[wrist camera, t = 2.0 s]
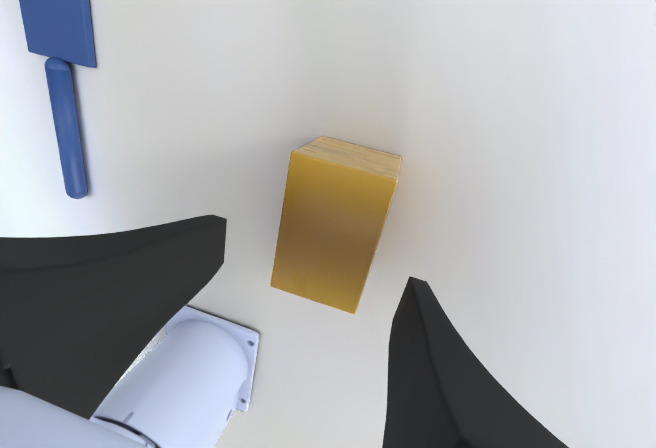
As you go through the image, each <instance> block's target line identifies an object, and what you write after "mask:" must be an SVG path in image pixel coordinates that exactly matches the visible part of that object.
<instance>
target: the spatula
mask: <svg viewBox="0 0 656 448" xmlns="http://www.w3.org/2000/svg"><path fill="white" fill-rule="evenodd" d="M19 2H20V8H21V13H22V18H23V24H24V29H25V34H26V40H27V45H28V51H29V52H32V53H36V54H40V55H44V56H47V57H51V58H49V59H47V60H46V62H45V71H46V77H47V83H48V89H49V95H50V101H51V107H52V112H53V118H54V124H55V130H56V136H57V142H58V148H59V154H60V160H61V165H62V171H63V177H64V183H65V189H66V193H67V195H68V196H70V197H71V198H74V199H80V198H83V197H84V196H85V195H86V194H87V185H86V178H85V171H84V164H83V156H82V149H81V142H80V135H79V127H78V120H77V113H76V106H75V98H74V91H73V84H72V77H71V70H70V67H69V65H68V64H67V63H66V62H65V61H67V62H71V63H75V64H78V65H82V66H86V67H92V68H96V61H95V51H94V42H93V32H92V23H91V13H90V4H89V0H19Z"/></svg>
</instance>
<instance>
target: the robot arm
mask: <svg viewBox="0 0 656 448" xmlns="http://www.w3.org/2000/svg"><path fill="white" fill-rule="evenodd" d="M226 223H227V219H225V218H222V217H218V216H215V215H206V216H200V217H194V218H190V219H185V220H180V221H176V222H171V223H167V224H162V225H157V226H151V227H146V228H141V229H135V230H130V231H123V232H116V233H108V234H99V235H88V236H70V237H50V238H9V237H0V448H214V447H215V445H216V443H217V442H218V440H219V438H220V436H221V434H222V433H223V431H224V429H225V427H226V425H227V423H228V422H229V420H230V418H231V416H232V414H233V413H234V411H235V409H237V410H239V411H242V412H246V411H247V409H248V407H249V403H250V396H251V389H252V383H253V376H254V370H255V363H256V356H257V350H258V343H259V334H258V333H257V332H256V331H254V330H251V329H248V328H245V327H243V326H240V325H237V324H234V323H231V322H229V321H226V320H223V319H220V318H218V317H215V316H212V315H209V314H206V313H204V312H201V311H198V310H195V309H193V308H190V307H187V306H185V305H186V304H187V303H188V302H189V301H190V300H191V299H192V298H193V297H194V296H195V295H196V294H197V293H198V292H199V291H200V290H201V289H202V288H203V287H204V286H205V285H206V284H207V283H208V282H209V281H210V280H211V279H212V278H213V276H214V275H215V274H216V273H217V271H218V270H219V269H220V267H221V266H222V264H223V263H224V251H225V237H226ZM165 324H166V336H165V337H164V338H163V339H162V340H161V341H160V342H159V343H158V344H157V345H156V346H155V347H154V348H153V349H152V350H151V351H150V352H149V353H148V354H147V355H146V356H145V357H144V358H143V359H142V360H141V361H140V362H139V363H138V364H137V365H136V366H135V367H134V368H133V369H132V370H131V371H130V372H129V373H128V374H127V375H126V376H125V377H124V378H123V379H122V380H121V381H120V382H119V383H118V384H117V385H116V386H115V384H116V383H117V382H118V380H119V379H120V378H121V376H122V375H123V374H124V373H125V371H126V370H127V369H128V368H129V366H130V365H131V364H132V363H133V361H134V360H135V359H136V358H137V356H138V355H139V354H140V353H141V351H142V350H143V349H144V348H145V347H146V346H147V344H148V343H149V342H150V341H151V340H152V338H153V337H154V336H155V335H156V334H157V333H158V331H159V330H160V329H161V328H162V327H163V326H164V325H165ZM114 386H115V387H114ZM113 387H114V388H113ZM112 388H113V389H112ZM382 448H569V447H567V446H566V445H565V444H564V443H562V442H561V441H560V440H559V439H558V438H556V437H555V436H554V435H553V434H552V433H551V432H550V431H548V430H547V429H546V428H545V427H544V426H543V425H542V424H541V423H540V422H538V421H537V420H536V419H535V418H534V417H533V416H532V415H531V414H530V413H528V412H527V411H526V410H525V409H524V408H523V407H522V406H521V405H520V404H519V403H518V402H517V401H516V400H515V399H514V398H513V397H512V396H511V395H510V394H509V393H508V392H507V391H506V390H505V389H504V388H503V387H502V386H501V385H500V384H499V383H498V382H497V380H496V379H495V378H494V377H493V376H492V375H491V374H490V373H489V372H488V371H487V369H486V368H485V367H484V366H483V365H482V363H481V362H480V361H479V360H478V359H477V357H476V356H475V355H474V354H473V353H472V351H471V350H470V349H469V347H468V346H467V345H466V343H465V342H464V341H463V339H462V338H461V336H460V335H459V334H458V332H457V331H456V329H455V328H454V326H453V325H452V323H451V322H450V320H449V319H448V317H447V315H446V314H445V312H444V310H443V309H442V307H441V305H440V304H439V302H438V300H437V299H436V297H435V295H434V293H433V292H432V290H431V288H430V286H429V285H428V283H427V282H426V281H423V280H420V279H417V278H413V277H409V280H408V282H407V285H406V287H405V290H404V292H403V295H402V297H401V300H400V303H399V305H398V308H397V310H396V313H395V315H394V318H393V322H392V328H391V334H390V341H389V357H388V393H387V414H386V423H385V431H384V439H383V447H382Z"/></svg>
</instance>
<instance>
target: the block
mask: <svg viewBox="0 0 656 448" xmlns="http://www.w3.org/2000/svg"><path fill="white" fill-rule="evenodd" d="M400 164H401V156H397V155H394V154H390V153H386V152H382V151H378V150H374V149H371V148H367V147H363V146H359V145H355V144H352V143H348V142H344V141H340V140H336V139H332V138H329V137H325V136H321V137H320V138H318V139H316V140H314V141H312V142H310V143H308V144H306V145H304V146H302V147H300V148H298V149H296V150H294V151H292V152H291V157H290V164H289V170H288V176H287V183H286V189H285V196H284V202H283V208H282V215H281V221H280V228H279V234H278V240H277V247H276V253H275V259H274V266H273V272H272V279H271V287H274V288H277V289H280V290H283V291H286V292H289V293H292V294H295V295H298V296H301V297H304V298H307V299H310V300H313V301H316V302H319V303H322V304H325V305H328V306H331V307H334V308H337V309H340V310H343V311H346V312H348V313H351V314H355V313H356V311H357V308H358V305H359V301H360V298H361V295H362V292H363V289H364V286H365V283H366V280H367V276H368V273H369V270H370V267H371V264H372V261H373V258H374V255H375V251H376V248H377V245H378V242H379V239H380V236H381V233H382V230H383V226H384V223H385V220H386V217H387V214H388V211H389V208H390V204H391V201H392V198H393V195H394V192H395V189H396V186H397V183H398V177H399V170H400Z"/></svg>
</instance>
